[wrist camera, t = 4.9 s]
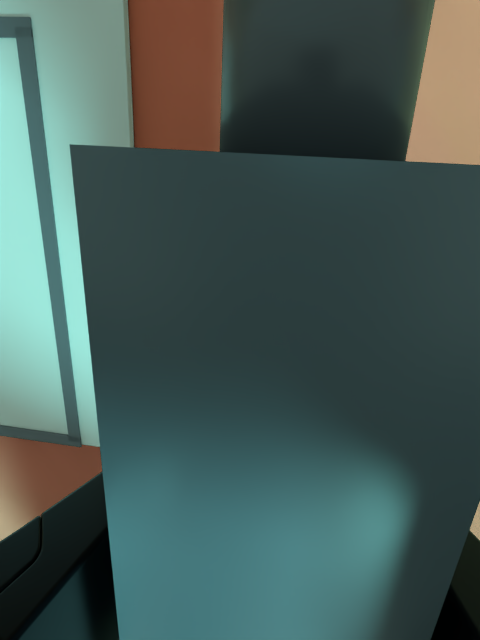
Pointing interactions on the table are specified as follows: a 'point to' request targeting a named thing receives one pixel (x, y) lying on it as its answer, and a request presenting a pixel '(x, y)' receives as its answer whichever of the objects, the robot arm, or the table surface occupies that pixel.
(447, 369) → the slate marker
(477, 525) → the table surface
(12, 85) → the paper sheet
